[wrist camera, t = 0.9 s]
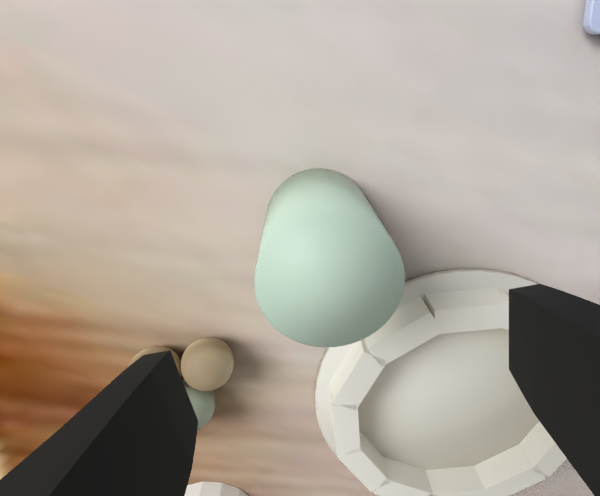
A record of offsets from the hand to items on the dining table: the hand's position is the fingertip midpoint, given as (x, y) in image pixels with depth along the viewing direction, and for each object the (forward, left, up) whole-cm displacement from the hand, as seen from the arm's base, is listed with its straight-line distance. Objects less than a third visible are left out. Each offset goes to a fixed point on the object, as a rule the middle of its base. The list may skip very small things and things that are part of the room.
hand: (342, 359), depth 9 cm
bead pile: (+7, +7, -9) cm, 14 cm away
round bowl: (-6, +10, -9) cm, 15 cm away
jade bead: (0, 0, -9) cm, 9 cm away
